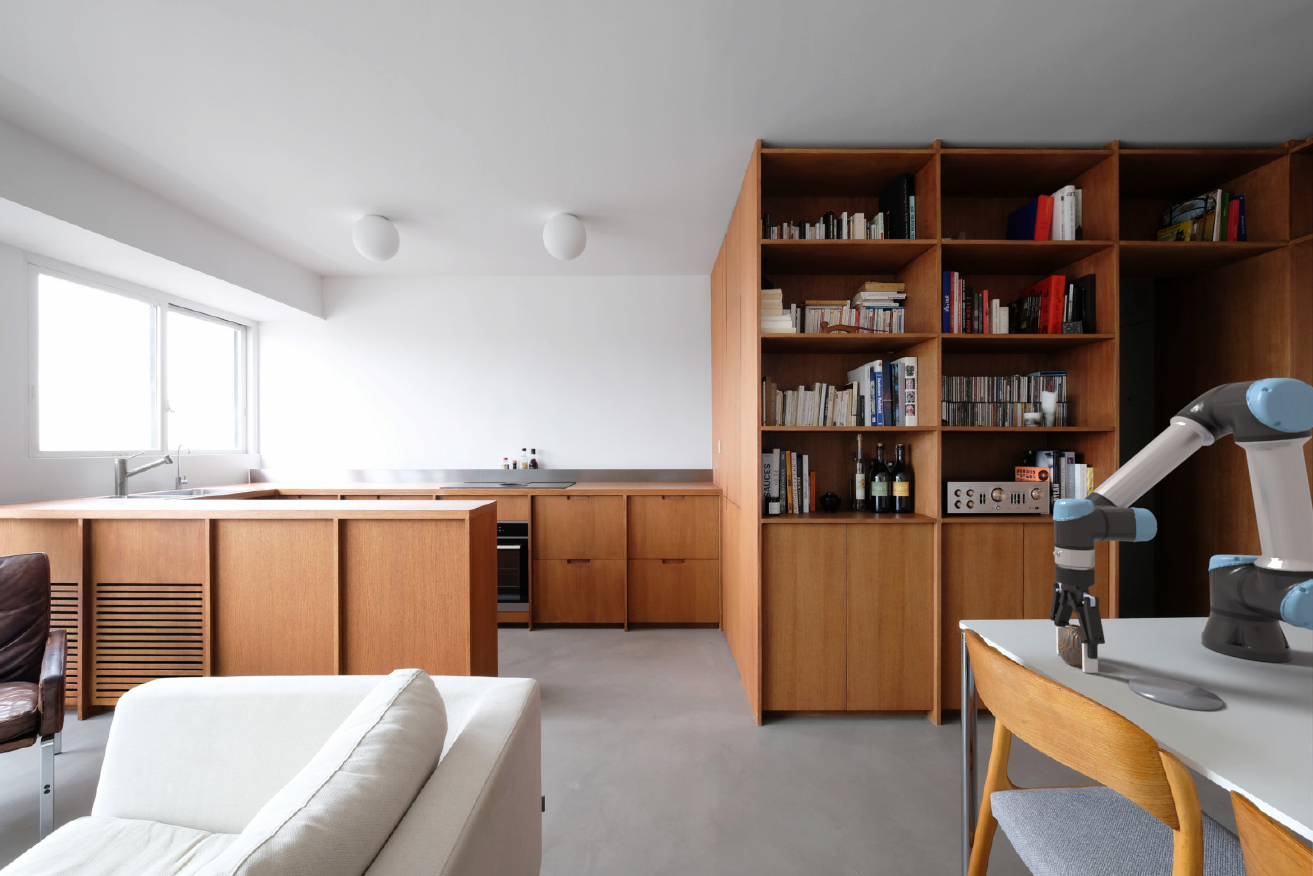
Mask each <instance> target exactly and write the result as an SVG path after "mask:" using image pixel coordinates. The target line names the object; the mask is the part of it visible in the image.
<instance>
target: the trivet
mask: <svg viewBox="0 0 1313 876" xmlns="http://www.w3.org/2000/svg"><path fill="white" fill-rule="evenodd" d="M1128 688H1129V689H1130V690H1131V691H1132V692H1133V693H1134V694H1137V695H1138V696H1141V697H1143V698H1145V699H1147V700H1150V701H1153V702H1157V703H1159V704H1162V705H1165V706H1170V707H1174V708H1178V709H1184V710H1192V711H1208V712H1209V711H1217V710H1219V709H1221V708H1222V707H1223V700H1222V699H1221V698H1220V697H1219V696H1218V695H1217V694H1215V693H1214V692H1211V691H1209V690H1207V689H1205V688H1202V687H1199V686H1197V685H1194V684H1190V683H1186V682H1183V681H1179V680H1174V679H1170V678H1169V679H1168V678H1161V677H1154V676H1153V677H1149V676H1148V677H1147V676H1142V677H1140V676H1139V677H1134V678H1131V679H1129V681H1128Z"/></svg>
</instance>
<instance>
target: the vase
mask: <svg viewBox="0 0 1313 876" xmlns="http://www.w3.org/2000/svg"><path fill="white" fill-rule="evenodd" d="M1067 627H1068V628H1067V629H1066V630H1065V631H1064V632H1063V633H1062V634H1061V636H1060V638H1059V640H1058V651H1059V654H1060V655H1059V656H1060V658H1061V659H1062V660H1063V661H1064V662H1065V663H1066V664H1068V665H1069V666H1073V667H1077V668H1078V667H1079V668H1083V667H1082V642H1081V641H1083V640H1084V637H1083V634H1082V630H1081V627H1080V624H1073V623H1072V624H1071V623H1070V625H1069V626H1067Z"/></svg>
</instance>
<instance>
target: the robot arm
mask: <svg viewBox="0 0 1313 876" xmlns="http://www.w3.org/2000/svg"><path fill="white" fill-rule="evenodd" d="M1169 420H1170V426H1168V427H1167V428H1166V429H1165V430H1164V431H1162V432H1161V433H1160V434H1159V435H1158V436H1156V437H1155V438H1153V440H1152V441H1151V442H1150V443H1148V444H1147V445H1145V447H1143V448H1142V449H1141V450H1140V451H1139V452H1138V453H1137V454H1135V455H1134V456H1133V457H1132V458H1131V459H1129V460H1128V461H1127V462H1126V463H1124V465H1122V466H1121V467H1120V468H1119V469H1117V470H1116V471H1115V472H1114V473H1113V474H1112V475H1111V476H1109V477H1108V478H1107V479H1106V480H1105V481H1104V482H1103V483H1101V484H1100V485H1098V486H1097V487H1096V488H1095V489H1094V490H1093V491H1092V492H1091V493H1089V494H1088V495H1087V496H1086V497H1084V498H1059V499H1057V500H1056V501H1054V505H1053V516H1052V520H1053V530H1054V531H1053V536H1054V545H1053V546H1054V551H1053V552H1052V553H1053V556H1054V563H1055V564H1056V565H1055V566H1054V579H1055V581H1056V582H1053V585H1052V586H1053V589H1052V590H1053V593H1052V599H1051V600H1052V601H1051V608H1050V613H1049V619H1050V621H1053V623H1054V626H1055V630H1056V632H1055V637H1056V639H1055V640H1056V644H1055V645H1056V655H1059V656H1060V654H1059V651H1058V640H1059V638H1060V636H1061V634H1062V633H1063V632H1064V631H1065V630H1066V629H1067V628H1068V627H1069V625H1071V623H1070V620H1071V616H1072V614H1073V612H1074V613H1076V616H1077V621H1078V623H1079V624H1078V625H1080V627H1081V630H1082V634H1083V637H1084V640H1083V641H1081V642H1082V667H1081V668H1082V672H1083V673H1089V674H1090V673H1094V674H1098V673H1099V658H1098V657H1099V656H1098V651H1099V650H1098V645H1104V644H1105V643H1106V640H1105V635H1104V633H1105V632H1104V630H1103V628H1104V627H1103V624H1102V618H1101V612H1100V598H1099V597H1098V596H1091V594H1090V589H1089V588H1090V587H1093V586H1094V585H1096V571H1095V569H1094V567H1096V558H1095V557H1096V555H1095V549H1096V548H1095V544H1096V543H1095V541H1097V542H1099V541H1100V542H1101V541H1104V542H1108V541H1109V542H1133V543H1137V542H1148V541H1150V540H1152V539H1154V537H1155V536H1156V534H1157V531H1158V527H1157V526H1158V523H1157V519H1156V517H1155V516H1154V513H1152V512H1151V511H1150V510H1149V509H1146V508H1144V507H1143V508H1141V507H1140V508H1138V507H1134V506H1133V507H1130V506H1131V505H1132V504H1133V503H1135V502H1136V501H1137V500H1138V499H1139V498H1140V497H1142V496H1144V494H1145V493H1147V492H1148V491H1150V490H1151V489H1152V488H1153V487H1154V486H1155V485H1156V484H1158V483H1159V482H1160V481H1161V480H1162V479H1164V478H1165V477H1166V476H1167V475H1168V474H1170V473H1171V472H1172V471H1173V470H1174V469H1176V468H1177V467H1179V465H1181V464H1182V463H1183V462H1185V460H1187V459H1188V458H1189V457H1191V455H1193V454H1194V453H1195V452H1196V451H1198V450H1199V449H1200V448H1202V446H1203V447H1204V446H1207V447H1208V446H1211V445H1213V444H1214V443H1215V442H1216V441H1217V440H1219V439H1221V438H1223V437H1225V436H1227V435H1230V434H1233V440H1234V443H1235V444H1236V445H1238V446H1239V447H1241V448H1242V449H1244V450H1245V452H1246V453H1245V454H1246V460H1247V467H1248V471H1249V472H1248V473H1249V479H1250V484H1251V492H1252V498H1253V505H1254V509H1255V510H1254V512H1255V515H1256V516H1255V518H1256V524H1257V529H1258V531H1257V532H1258V536H1259V542H1260V543H1259V544H1260V549H1261V555H1251V554H1248V555H1246V554H1245V555H1244V554H1216V555H1215V554H1214V555H1213V556H1211V557H1210V559H1209V567H1208V572H1209V601H1210V602H1209V603H1210V605H1209V607H1210V612H1209V616H1208V619H1207V621H1206V624H1205V626H1204V630H1203V631H1202V632H1201V645H1202V646H1204V647H1205V648H1206V649H1209V650H1211V651H1215V652H1217V653H1220V654H1223V655H1227V656H1232V657H1236V658H1241V659H1247V660H1253V661H1261V662H1271V663H1275V662H1278V663H1279V662H1280V663H1281V662H1282V663H1283V662H1288V661H1290V660H1292V648H1291V646H1290V645H1289V641H1288V639H1287V637H1286V635H1285V633H1284V631H1283V629H1282V627H1281V624H1280V622H1283V623H1286V624H1288V625H1290V626H1292V627H1296V628H1301V629H1302V628H1303V629H1306V630H1309V631H1313V503H1312V497H1311V496H1312V495H1311V492H1310V491H1311V490H1310V484H1309V478H1308V472H1307V471H1308V470H1307V465H1306V460H1305V454H1304V445H1305V444H1306V443H1307V442H1308V441H1310V439H1312V437H1313V436H1312V430H1311V429H1312V428H1313V386H1312V385H1310V384H1308V383H1306V382H1305V381H1302V380H1299V379H1297V378H1292V377H1291V378H1289V377H1272V378H1271V377H1270V378H1269V377H1267V378H1263V379H1258V380H1256V379H1255V380H1250V381H1249V380H1248V381H1243V382H1242V381H1241V382H1231V383H1225V384H1222V385H1221V384H1220V385H1219V386H1216V387H1214V388H1211V389H1210V390H1208V391H1206V392H1204V393H1203V394H1201V395H1200V396H1198V397H1197V398H1196V399H1194V400H1193V401H1191V402H1190V403H1189V404H1188V405H1186V406H1185V407H1183V409H1181V410H1180V411H1178V412H1177V413H1176V414H1175V415H1174V416H1172V418H1170V419H1169Z"/></svg>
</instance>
